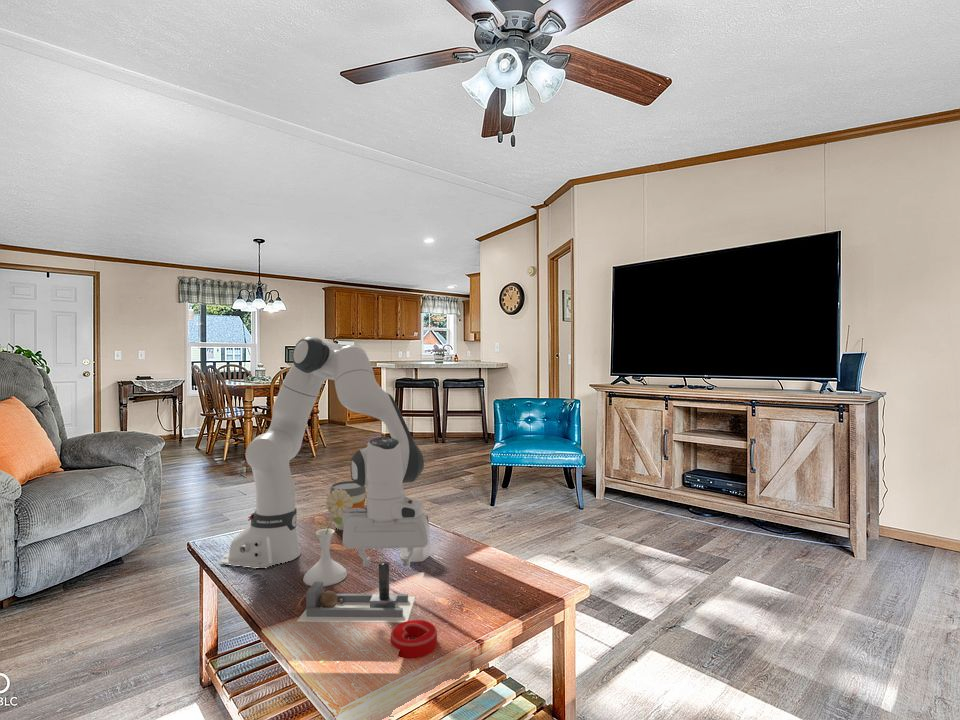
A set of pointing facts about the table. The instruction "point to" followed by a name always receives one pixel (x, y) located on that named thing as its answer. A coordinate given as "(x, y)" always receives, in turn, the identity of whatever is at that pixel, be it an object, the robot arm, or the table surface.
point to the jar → (417, 551)
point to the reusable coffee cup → (354, 492)
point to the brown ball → (328, 599)
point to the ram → (384, 590)
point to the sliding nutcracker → (353, 608)
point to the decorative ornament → (414, 647)
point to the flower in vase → (326, 566)
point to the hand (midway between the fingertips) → (386, 565)
